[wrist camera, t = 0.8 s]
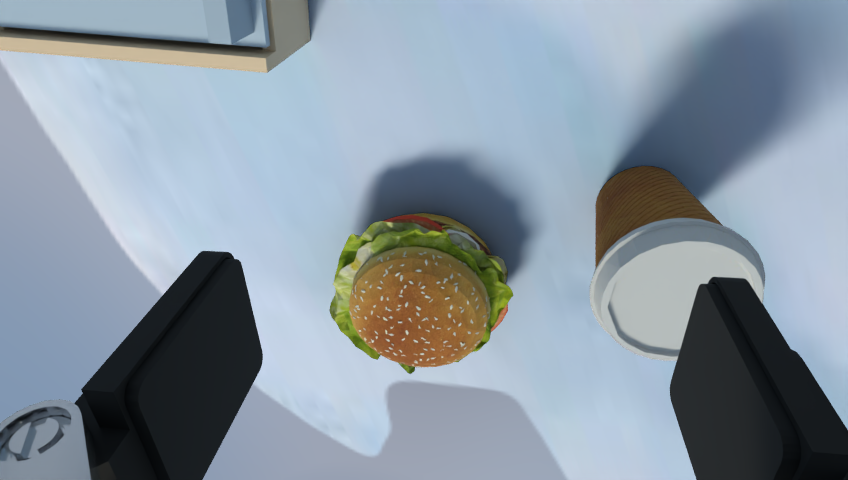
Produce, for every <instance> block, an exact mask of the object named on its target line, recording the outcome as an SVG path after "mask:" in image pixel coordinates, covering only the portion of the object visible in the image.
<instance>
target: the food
mask: <svg viewBox="0 0 848 480" xmlns="http://www.w3.org/2000/svg"><path fill="white" fill-rule="evenodd" d="M507 273H508V271H507V268H506V266H505V263H504V260H503V259H501V258H500V257H498V256H492V255H491V252H490V250H489V249H488V247H487V245H486V244H485V243H484V242H483V240H482V239H481V238H479V237H478V236H477V235H476V234H475V233H474V232H473V231H472V230H471V229H470V228H469V227H467V226H465V225H463V224H461V223H459V222H457V221H455V220H453V219H452V218H450V217H446V216H440V215H434V214H427V213H418V214H408V215H401V216H396V217H393V218H390V219H387V220H384V221H379V222H375V223H373V224H371V225H370V226H369V227H368V228H367V229H366V231H365V232H364V233H363V234H362V235H361V236H357V235H355V234H351V235H350V236H349V238H348V240H347V242H346V244H345V247H344V249H343V251H342V253H341V256H340V259H339V264H338V268H337V271H336V274H335V280H334V283H333V285H334V286H335V289H336V293H335V297H334V298H333V300H332V302H331V306H330V313H331V316H332V318H333V319H334V321H335V322H336V323H337V325H338V327H339V329H340V331H341V332H343V333H344V334H345V335H346V336H348V337H349V339H350V340H351V341H352V342H353V344H354V345H355V346H356V347H357V348H359V349H361V350H362V351H364V352H365V353H366V354H368V355H369V356H370V357H371V358H374V359H377V360H378V358H379V356H380V355H382V356H384V357H386V358H388V359H390V360H392V361H395V362H398V363H399V364H400V365H401V366H402V367H403V368H404V369H405V370H406V371H407V372H408V373H410V374H411V373H412V372H414V370H415V367H437V366H442V365H447V364H450V363H453V362H459V361H460V360H461V359H463V358H464V357H465V356H467V355H468V354H469V353H471V352H473V351H478V350H479V349H480V348H481V347H482V346H483V345H484V344H485V343H487V342H488V341H489V339H490V334H491V332H492V331H493V330H494V329H495V328H496V327H497V326H498V325H499V324H500V323H501V322H502V320H503V318H504V316H505V315H506V313H507V311H508V304H507V303H508V301H509V300H510V298H511V297H512V296H513V293H512V290H511V289H510V287H509V286H507V285H506V279H507Z"/></svg>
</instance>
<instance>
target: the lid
mask: <svg viewBox="0 0 848 480" xmlns="http://www.w3.org/2000/svg"><path fill="white" fill-rule="evenodd" d="M0 26H1V27H13V28H26V29H38V30H51V31H63V32H76V33H88V34H101V35H113V36H126V37H138V38H151V39H164V40H176V41H189V42H201V43H214V44H226V45H239V46H251V47H264V48H266V47H268V46H270V40H269V30H268V20H267V10H266V1H265V0H0Z"/></svg>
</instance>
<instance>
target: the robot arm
mask: <svg viewBox="0 0 848 480" xmlns="http://www.w3.org/2000/svg"><path fill="white" fill-rule="evenodd" d="M262 359H263V354H262V349H261V345H260V340H259V336H258V332H257V328H256V323H255V319H254V315H253V311H252V307H251V302H250V298H249V294H248V290H247V286H246V281H245V277H244V273H243V269H242V265H241V262H240V261H239V260H237V259H234V257H233V256H232V254H231V253H229V252H215V251H202V252H201V253H199V254H198V255H197V256H196V258H195V259H194V260H193V261H192V262H191V263H190V265H189V266H188V267H187V268H186V269H185V270H184V271H183V273H182V274H181V275H180V276H179V277H178V278H177V280H176V281H175V282H174V283H173V284H172V285H171V286H170V288H169V289H168V290H167V291H166V292H165V293H164V295H163V296H162V297H161V298H160V299H159V300H158V302H157V303H156V304H155V305H154V306H153V307H152V309H151V310H150V311H149V312H148V313H147V314H146V315H145V317H144V318H143V319H142V320H141V321H140V322H139V323H138V325H137V326H136V327H135V328H134V329H133V331H132V332H131V333H130V334H129V335H128V336H127V337H126V339H125V340H124V341H123V342H122V343H121V344H120V345H119V347H118V348H117V349H116V350H115V351H114V352H113V353H112V355H111V356H110V357H109V358H108V359H107V360H106V362H105V363H104V364H103V365H102V366H101V367H100V369H99V370H98V371H97V372H96V373H95V374H94V375H93V377H92V378H91V379H90V380H89V381H88V382H87V384H86V385H85V386H84V387H83V388H82V389H81V390H82V392H83V394H82V395H81V397H79V399H78V400H77V401H76V402H75V403H72V402H70V401H66V400H60V399H59V400H49V401H43V402H40V403H37V404H33V405H30V406H28V407H26V408H24V409H22V410H19V411H17V412H16V413H14V414H13V415H11V416H10V417H8V418H6V419H5V420H4V421H2V422H1V423H0V480H202V479H203V477H204V476H205V473H206V472H207V470H208V468H209V466H210V464H211V462H212V460H213V458H214V456H215V455H216V453H217V451H218V448H219V447H220V445H221V443H222V441H223V439H224V437H225V435H226V434H227V432H228V430H229V428H230V426H231V424H232V422H233V420H234V418H235V416H236V414H237V413H238V411H239V409H240V407H241V405H242V403H243V401H244V399H245V397H246V395H247V394H248V392H249V390H250V388H251V386H252V384H253V382H254V380H255V378H256V376H257V374H258V373H259V371H260V368H261V365H262ZM670 397H671V402H672V405H673V408H674V411H675V414H676V417H677V420H678V424H679V427H680V430H681V433H682V436H683V439H684V442H685V445H686V448H687V451H688V454H689V458H690V461H691V464H692V467H693V470H694V473H695V476H696V479H697V480H848V430H847V428H846V427H845V425H844V424H843V422H842V421H841V419H840V417H839V416H838V414H837V413H836V411H835V410H834V408H833V406H832V405H831V403H830V402H829V400H828V399H827V397H826V395H825V394H824V392H823V391H822V389H821V388H820V386H819V384H818V383H817V381H816V380H815V378H814V377H813V375H812V373H811V372H810V370H809V369H808V367H807V366H806V364H805V362H804V361H803V359H802V358H801V357H800V356H799V354H798V353H797V352H795V351H793V350H791V349H790V347H789V346H788V344H787V342H786V341H785V339H784V337H783V336H782V334H781V333H780V331H779V329H778V328H777V326H776V325H775V323H774V321H773V320H772V318H771V317H770V315H769V313H768V312H767V310H766V309H765V307H764V305H763V304H762V302H761V301H760V299H759V297H758V296H757V294H756V293H755V291H754V289H753V288H752V286H751V285H750V283H749V282H748V281H747V280H746V279H744V278H730V277H712V278H711V279H710V280H709V282H708V284H700V285H699V287H698V290H697V293H696V296H695V300H694V303H693V307H692V310H691V314H690V317H689V321H688V324H687V328H686V331H685V335H684V338H683V342H682V345H681V348H680V352H679V355H678V359H677V362H676V366H675V369H674V373H673V376H672V380H671V384H670Z"/></svg>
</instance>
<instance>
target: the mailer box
mask: <svg viewBox="0 0 848 480" xmlns="http://www.w3.org/2000/svg"><path fill="white" fill-rule="evenodd" d="M265 1H266V10H267V20H268V30H269V40H270V46H268V47H266V48H264V47H251V46H239V45H226V44H214V43H201V42H189V41H176V40H164V39H151V38H138V37H126V36H113V35H101V34H88V33H76V32H63V31H51V30H38V29H26V28H13V27H1V26H0V50H3V51H15V52H27V53H39V54H51V55H63V56H75V57H87V58H99V59H110V60H122V61H134V62H146V63H158V64H170V65H182V66H194V67H206V68H218V69H229V70H241V71H253V72H265V73H268V72H269V71H270V70H272V69H273V68H274V67H276V66H277V65H278V64H280V63H281V62H282V61H284V60H285V59H286V58H288V57H289V56H290V55H292V54H293V53H294V52H296V51H297V50H298V49H300V48H301V47H302V46H304V45H305V44H306V43H308V42H309V41H310V26H309V11H308V0H265Z"/></svg>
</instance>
